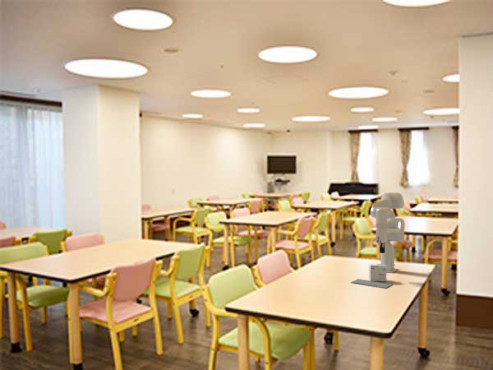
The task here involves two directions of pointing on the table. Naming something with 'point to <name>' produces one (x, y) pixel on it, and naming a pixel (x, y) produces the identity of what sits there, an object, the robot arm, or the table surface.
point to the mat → (371, 283)
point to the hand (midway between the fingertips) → (382, 252)
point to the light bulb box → (377, 272)
